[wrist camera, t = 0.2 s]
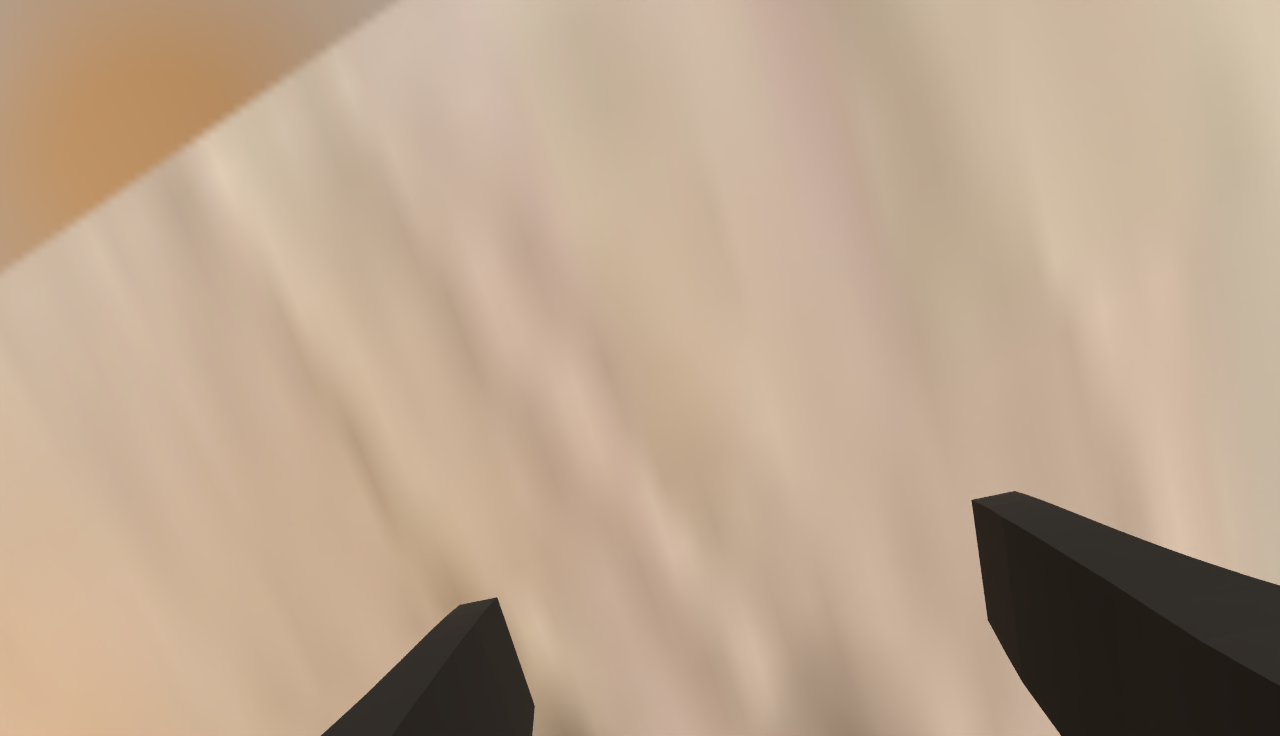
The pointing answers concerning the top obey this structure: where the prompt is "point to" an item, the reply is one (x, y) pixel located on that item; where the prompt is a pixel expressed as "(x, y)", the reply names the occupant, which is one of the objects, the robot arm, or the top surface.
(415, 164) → the top surface
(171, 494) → the top surface
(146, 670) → the top surface
